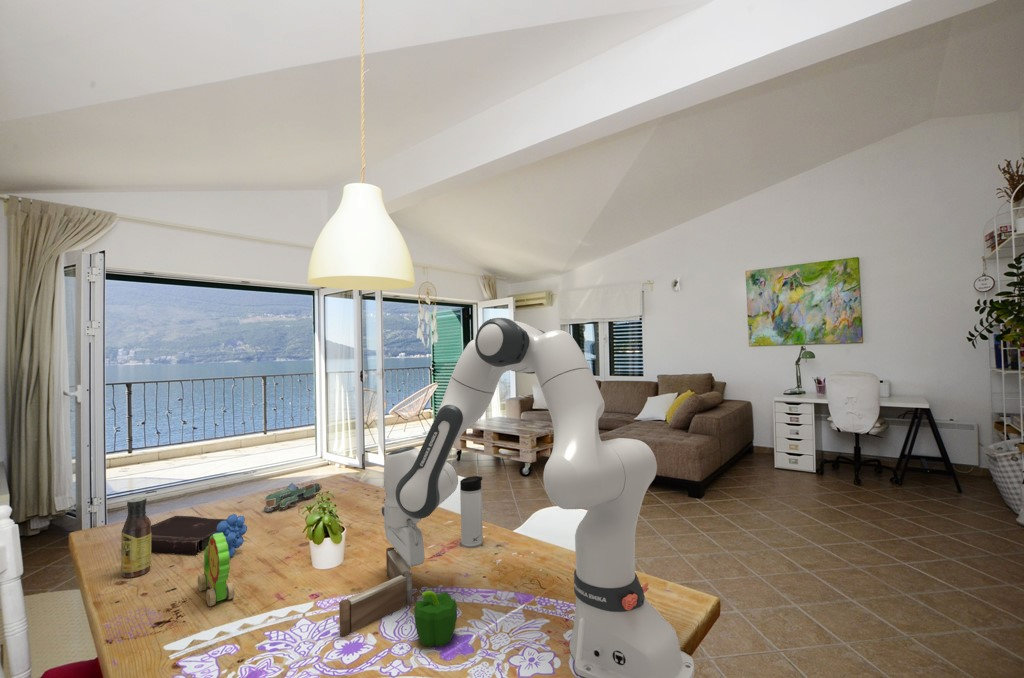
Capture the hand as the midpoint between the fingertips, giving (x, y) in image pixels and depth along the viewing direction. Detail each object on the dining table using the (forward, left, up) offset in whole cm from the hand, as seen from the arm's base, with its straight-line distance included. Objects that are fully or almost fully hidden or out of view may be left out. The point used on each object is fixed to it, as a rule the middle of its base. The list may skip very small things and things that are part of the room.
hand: (404, 570), depth 115 cm
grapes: (+53, +25, -4) cm, 58 cm away
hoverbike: (+87, -8, -4) cm, 88 cm away
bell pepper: (-24, +8, -4) cm, 25 cm away
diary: (+77, +30, -4) cm, 82 cm away
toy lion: (+31, +33, -4) cm, 45 cm away
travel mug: (+5, -26, -4) cm, 27 cm away
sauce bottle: (+61, +44, -4) cm, 75 cm away
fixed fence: (-8, +12, -3) cm, 15 cm away
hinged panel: (0, +2, -3) cm, 4 cm away
